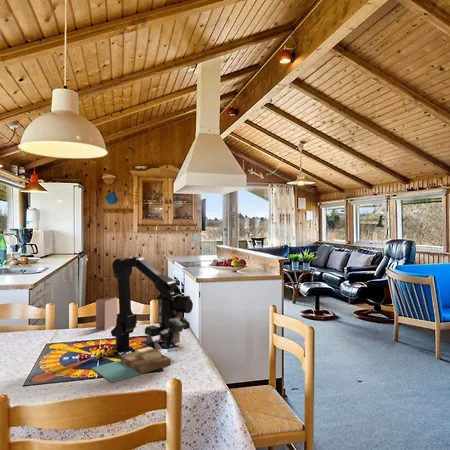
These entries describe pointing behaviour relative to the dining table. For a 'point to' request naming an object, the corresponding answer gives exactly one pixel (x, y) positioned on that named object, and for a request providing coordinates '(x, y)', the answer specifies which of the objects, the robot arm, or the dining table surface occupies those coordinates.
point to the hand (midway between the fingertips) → (167, 348)
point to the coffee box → (177, 335)
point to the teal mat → (115, 371)
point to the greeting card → (106, 312)
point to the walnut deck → (144, 362)
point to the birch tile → (148, 353)
